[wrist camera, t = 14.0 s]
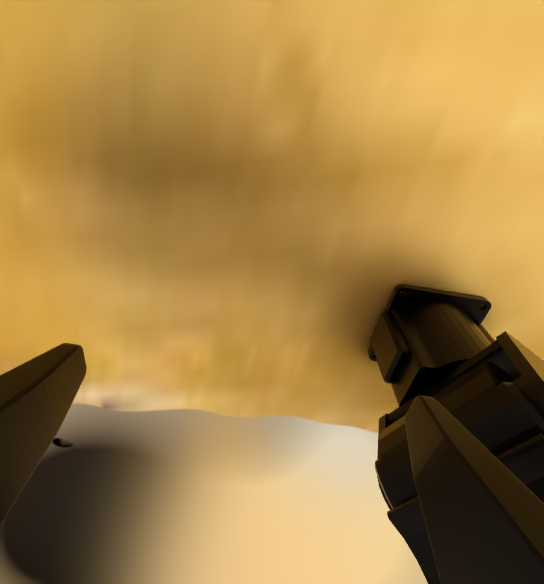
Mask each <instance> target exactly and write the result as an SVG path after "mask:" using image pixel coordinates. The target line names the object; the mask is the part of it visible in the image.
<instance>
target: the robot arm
mask: <svg viewBox="0 0 544 584" xmlns="http://www.w3.org/2000/svg"><path fill="white" fill-rule="evenodd" d="M401 291H405V292H404V293H403V294H399V293H400V292H401ZM482 304H484V305H483V306H482V307H480V306H481V305H482ZM490 308H491V303H490V302H489V301H488V300H487V299H485V298H481V297H475V296H469V295H463V294H457V293H451V292H445V291H439V290H433V289H427V288H421V287H415V286H409V285H399V286H397V287H396V288H395V289H394V291H393V294H392V296H391V298H390V301H389V303H388V305H387V308H386V310H385V311H384V312H382V313H381V315H380V318H379V320H378V322H377V325H376V327H375V330H374V332H373V334H372V337H371V346H370V348H369V350H368V355H369V358H370V359H371V360H373V361H377V362H378V365H379V368H380V371H381V374H382V377H383V379H384V381H385V382H386V383H391V385H392V388H393V391H394V394H395V396H396V399H397V402H398V405H399V407H398V408H397V409H395V410H394V411H393V412H391V413H390V414H385V415H384V416H382V417H381V418H379V436H378V459H377V461H376V462H375V469H376V473H377V478H378V482H379V487H380V489H381V492H382V494H383V497H384V499H385V501H386V503H387V505H388V507H389V509H390V511H388V512H387V515H388V518H389V520H390V521H391V522H392V524H393V525H394V526H395V527H396V529H397V530H398V531H399V533H400V534H401V535H402V536H403V538H404V539H405V541H406V542H407V544H408V546H409V548H410V549H411V551H412V553H413V554H414V556H415V558H416V559H417V561H418V563H419V565H420V567H421V569H422V572H423V574H424V576H425V578H426V580H427V582H428V584H544V361H543V360H541V359H540V358H539V357H538V356H536V355H535V354H534V353H533V352H531V351H530V350H529V349H528V348H526V347H525V346H524V345H522V344H521V343H520V342H519V341H517V340H516V339H515V338H514V337H512V336H511V335H510V334H509V333H507V332H506V331H505V332H504V333H502V334H501V335H499V336H498V337H496V338H497V340H496V341H495V340H494V339H493V338H492V337H491V336H490V334H489V333H488V332H487V331H486V330H485V328H484V327H483V326H482V325H481V323H482V321H483V319H484V318H485V316H486V315H487V313H488V311H489V310H490ZM373 354H375V355H373ZM85 374H86V363H85V357H84V352H83V348H82V347H81V346H80V345H77V344H70V343H63V344H61V345H59V346H57V347H55V348H53V349H51V350H49V351H47V352H45V353H43V354H41V355H39V356H37V357H35V358H33V359H31V360H29V361H27V362H25V363H24V364H22V365H20V366H18V367H16V368H14V369H12V370H10V371H8V372H6V373H4V374H2V375H0V525H1V523H2V522H3V520H4V519H5V517H6V515H7V514H8V512H9V510H10V509H11V507H12V506H13V504H14V502H15V501H16V499H17V497H18V496H19V494H20V493H21V491H22V489H23V488H24V486H25V485H26V483H27V481H28V480H29V478H30V476H31V475H32V473H33V472H34V470H35V468H36V467H37V465H38V463H39V462H40V460H41V458H42V457H43V455H44V454H45V452H46V450H47V449H48V447H49V445H50V444H51V442H52V441H53V439H54V437H55V436H56V434H57V432H58V430H59V429H60V427H61V425H62V423H63V421H64V418H65V417H66V414H67V412H68V410H69V408H70V406H71V404H72V402H73V400H74V398H75V396H76V394H77V392H78V390H79V387H80V385H81V383H82V381H83V379H84V377H85Z"/></svg>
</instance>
